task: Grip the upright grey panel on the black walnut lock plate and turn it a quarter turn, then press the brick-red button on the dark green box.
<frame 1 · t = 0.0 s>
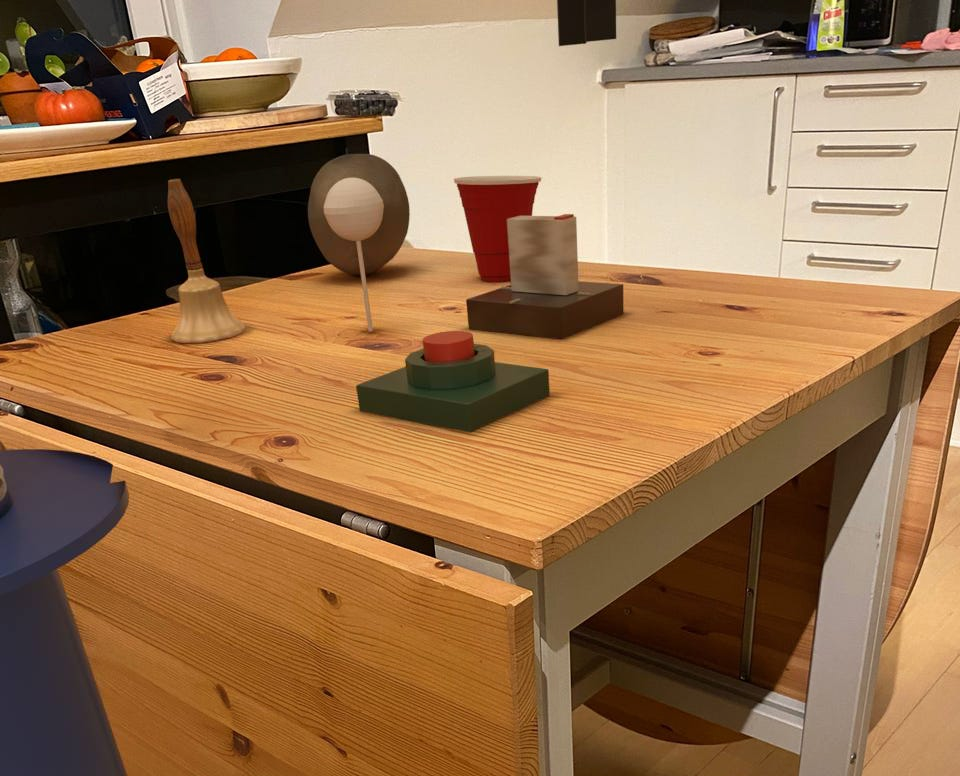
hand: (585, 43, 94), 24 cm above the table, tool pointing down, fingers open, 13 cm apart
button box: (454, 403, 80), on the table
lollipop: (371, 332, 105), on the table
hand bell: (209, 336, 111), on the table
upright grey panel: (542, 253, 99), point 7 cm above the table, hinge at 0.0°
brown ovoid: (367, 276, 135), on the table
lock plate: (546, 321, 102), on the table
bell button: (448, 348, 78), point 4 cm above the table, slide at 0.1 cm
plastic cup: (504, 278, 125), on the table
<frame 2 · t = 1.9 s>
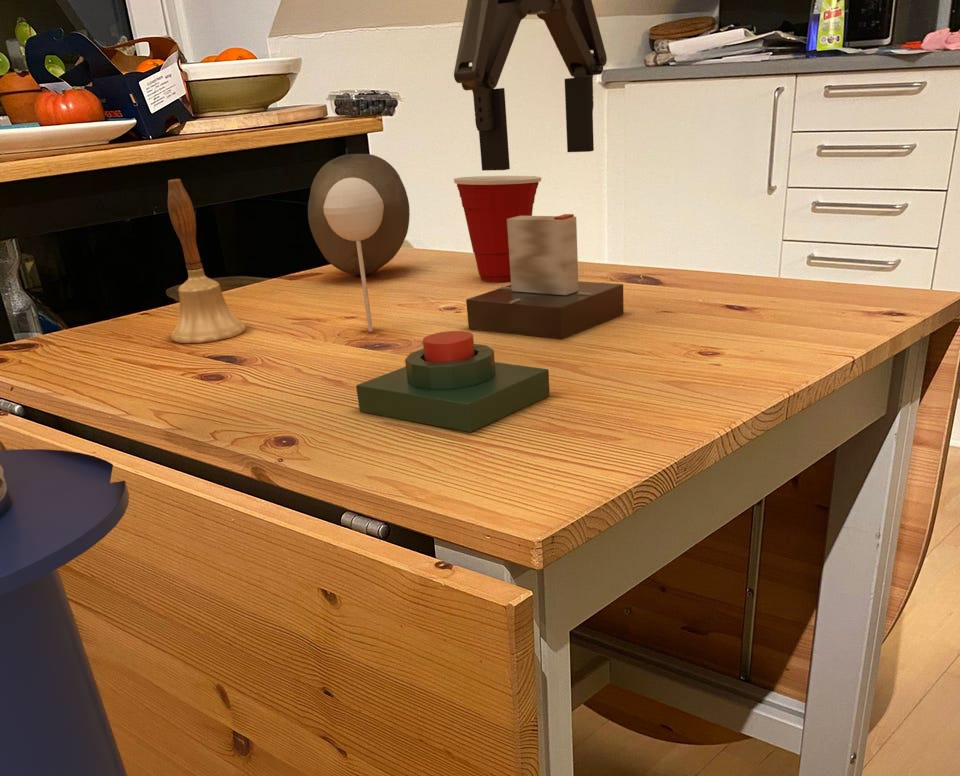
hand: (540, 160, 95), 15 cm above the table, tool pointing down, fingers open, 13 cm apart
nothing on the table moved.
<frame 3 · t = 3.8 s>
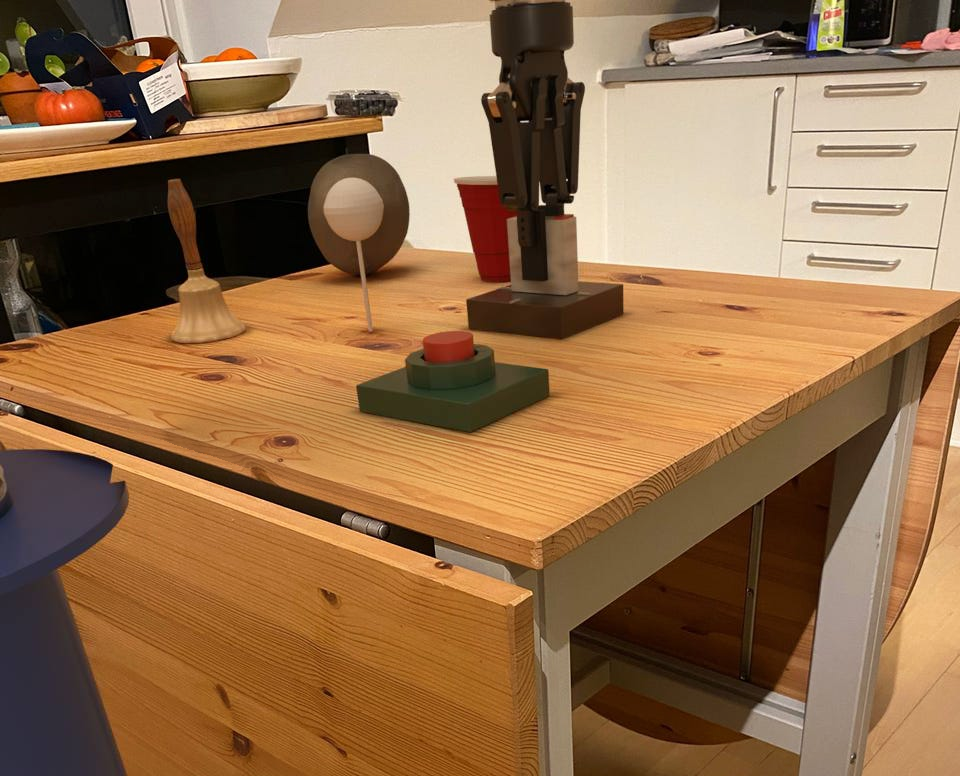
hand: (543, 276, 100), 4 cm above the table, tool pointing down, fingers closed on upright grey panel, 2 cm apart
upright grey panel: (542, 253, 99), point 7 cm above the table, hinge at 0.0°, touching gripper
everything else where it was.
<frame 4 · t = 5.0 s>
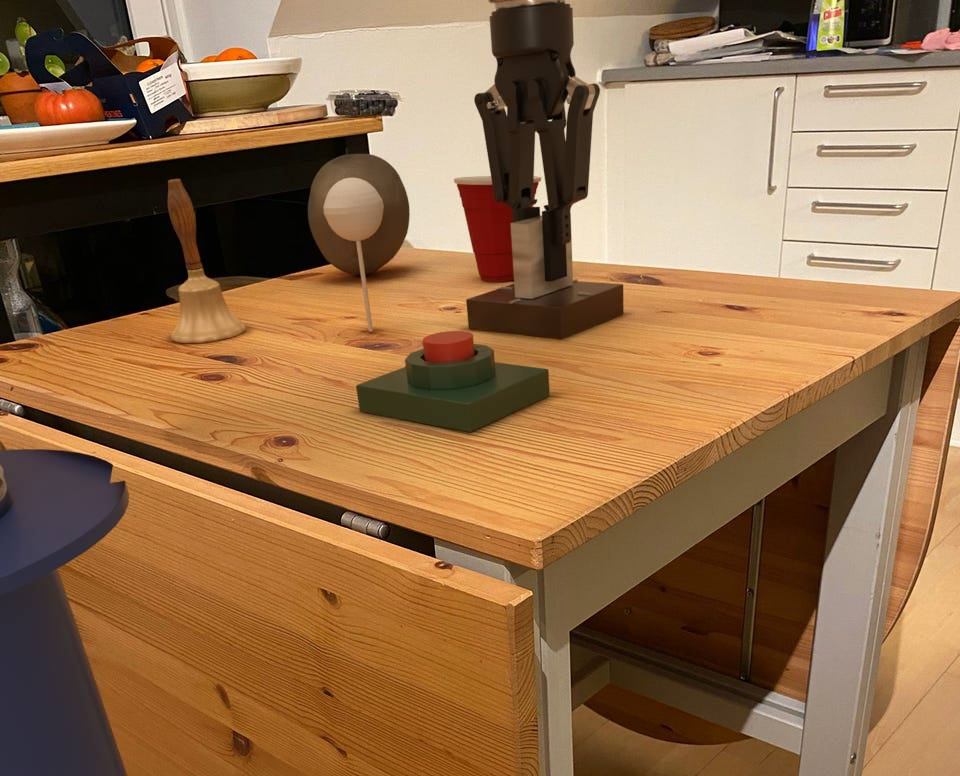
hand: (544, 277, 100), 4 cm above the table, tool pointing down, fingers open, 2 cm apart
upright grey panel: (542, 253, 99), point 7 cm above the table, hinge at 89.4°
everything else where it was.
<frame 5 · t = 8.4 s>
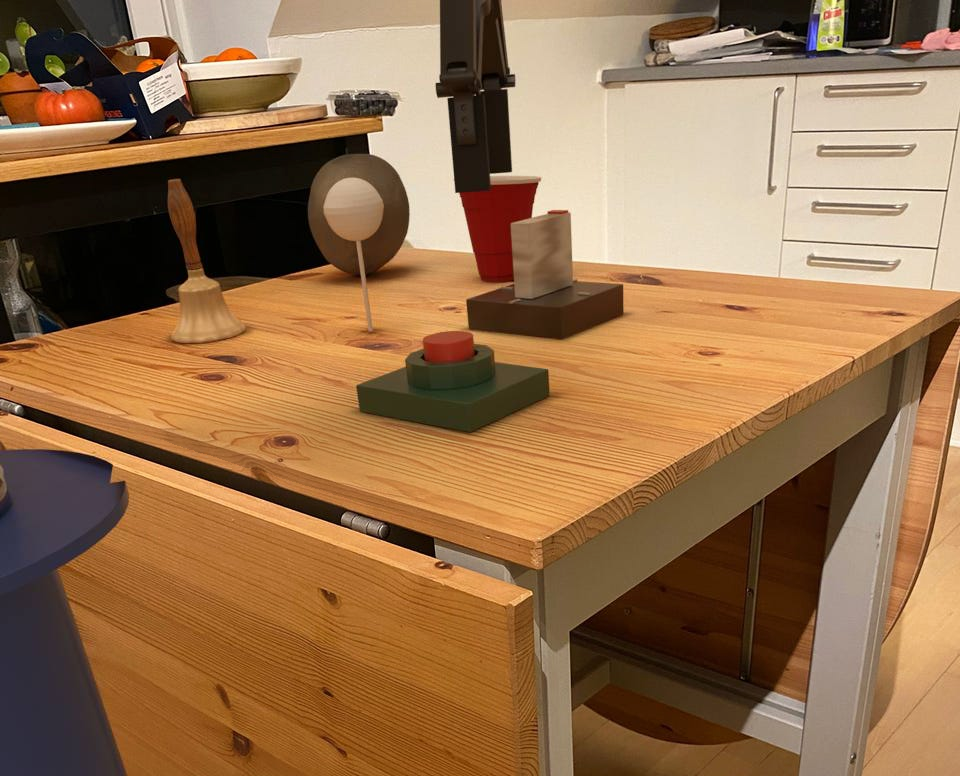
hand: (485, 182, 82), 15 cm above the table, tool pointing down, fingers open, 13 cm apart
nothing on the table moved.
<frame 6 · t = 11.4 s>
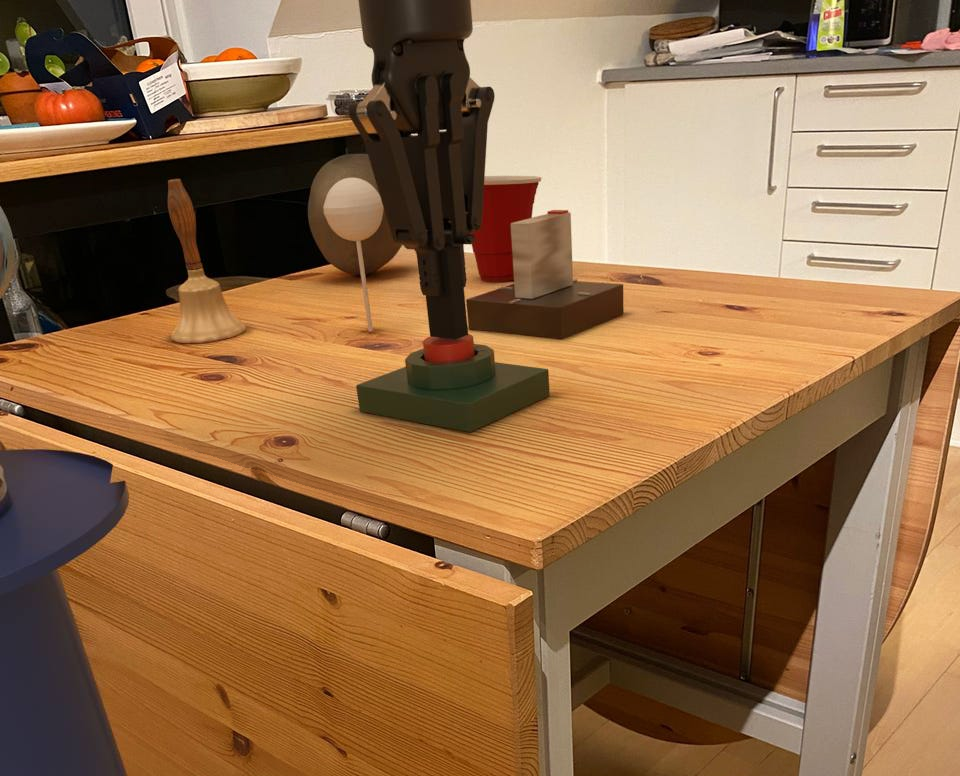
hand: (449, 335, 77), 5 cm above the table, tool pointing down, fingers closed
bell button: (449, 350, 78), point 4 cm above the table, slide at 0.0 cm, touching gripper
everything else where it was.
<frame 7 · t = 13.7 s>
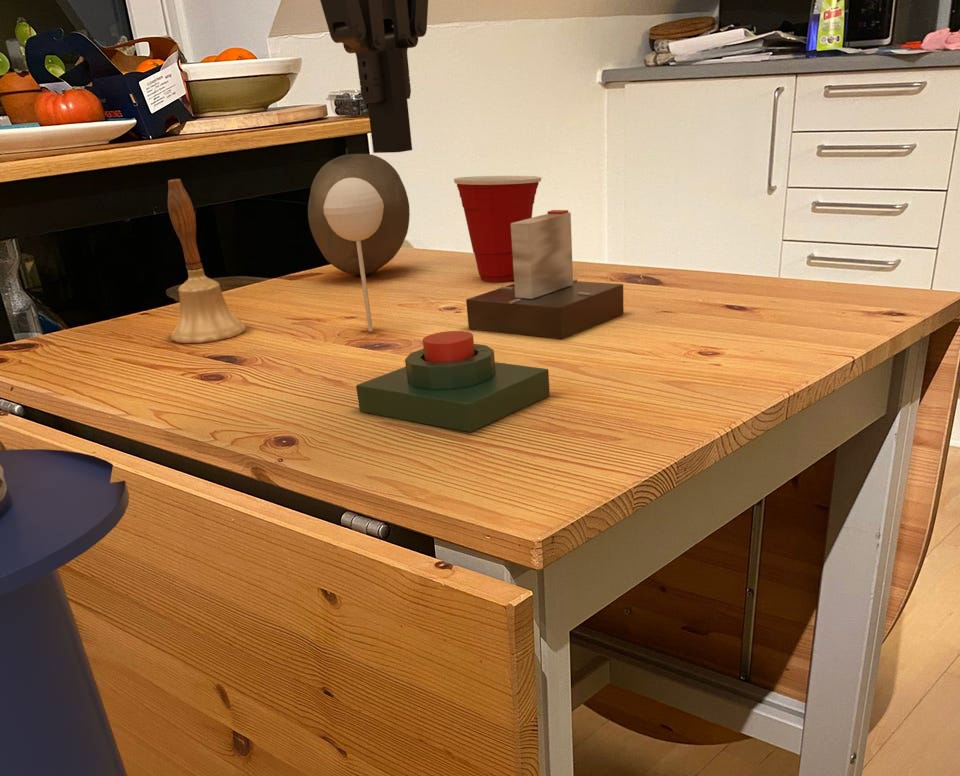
hand: (392, 151, 74), 18 cm above the table, tool pointing down, fingers closed
bell button: (448, 348, 78), point 4 cm above the table, slide at 0.1 cm
everything else where it was.
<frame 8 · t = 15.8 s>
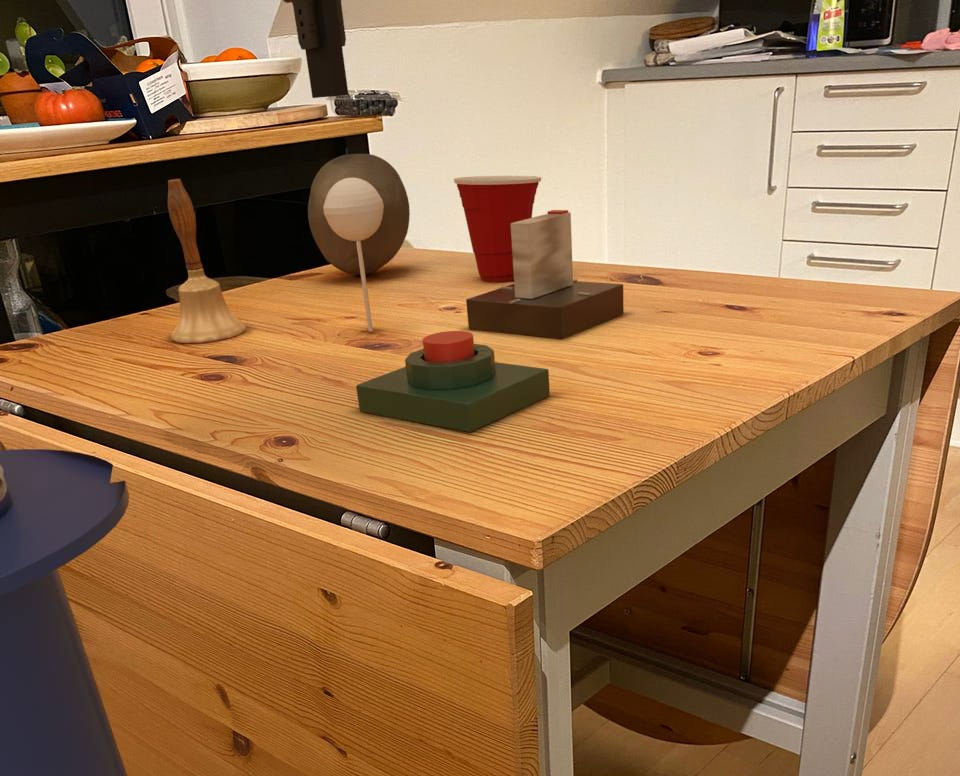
hand: (330, 96, 79), 22 cm above the table, tool pointing down, fingers closed
nothing on the table moved.
at the end: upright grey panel at +89° (first picture: +0°); bell button pushed in 1.0 cm at the most during the clip, back to where it started at the end; bell button slide at 0.1 cm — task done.
